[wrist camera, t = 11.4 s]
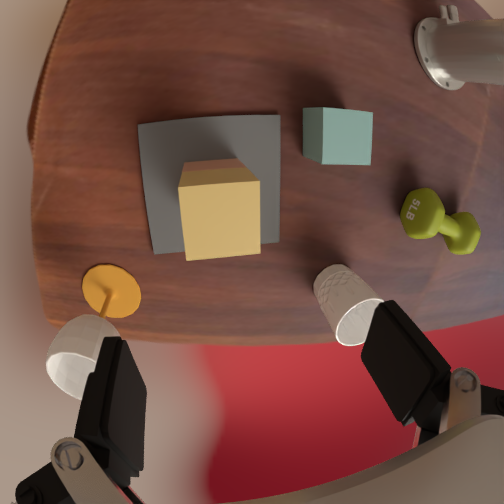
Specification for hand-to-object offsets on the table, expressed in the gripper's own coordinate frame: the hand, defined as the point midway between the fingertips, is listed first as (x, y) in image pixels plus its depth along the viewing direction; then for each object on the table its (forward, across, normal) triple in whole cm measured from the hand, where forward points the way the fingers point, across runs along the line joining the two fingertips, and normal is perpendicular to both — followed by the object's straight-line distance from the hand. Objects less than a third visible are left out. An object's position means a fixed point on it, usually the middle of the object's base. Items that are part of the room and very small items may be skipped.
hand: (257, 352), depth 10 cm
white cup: (+26, -17, +16) cm, 35 cm away
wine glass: (+26, +16, +14) cm, 33 cm away
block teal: (+26, -14, -6) cm, 30 cm away
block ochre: (+19, 0, 0) cm, 19 cm away
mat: (+26, 0, 0) cm, 26 cm away
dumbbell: (+27, -35, +6) cm, 44 cm away
